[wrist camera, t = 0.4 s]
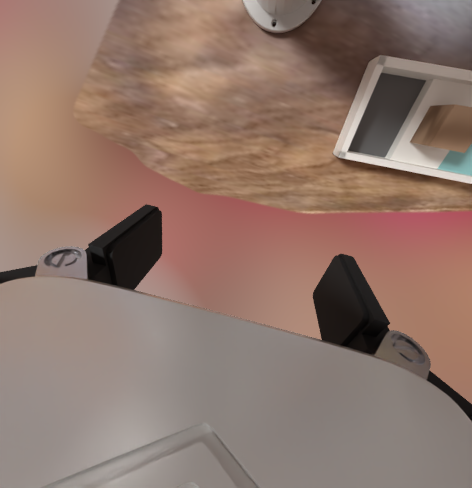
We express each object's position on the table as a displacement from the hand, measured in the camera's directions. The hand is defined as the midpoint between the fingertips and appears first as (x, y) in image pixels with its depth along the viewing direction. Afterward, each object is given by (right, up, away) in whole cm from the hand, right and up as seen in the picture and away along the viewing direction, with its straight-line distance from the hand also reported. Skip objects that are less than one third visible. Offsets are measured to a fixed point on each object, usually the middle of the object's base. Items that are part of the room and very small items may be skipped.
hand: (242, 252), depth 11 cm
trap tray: (+33, +19, +22) cm, 45 cm away
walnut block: (+31, +19, +21) cm, 42 cm away
